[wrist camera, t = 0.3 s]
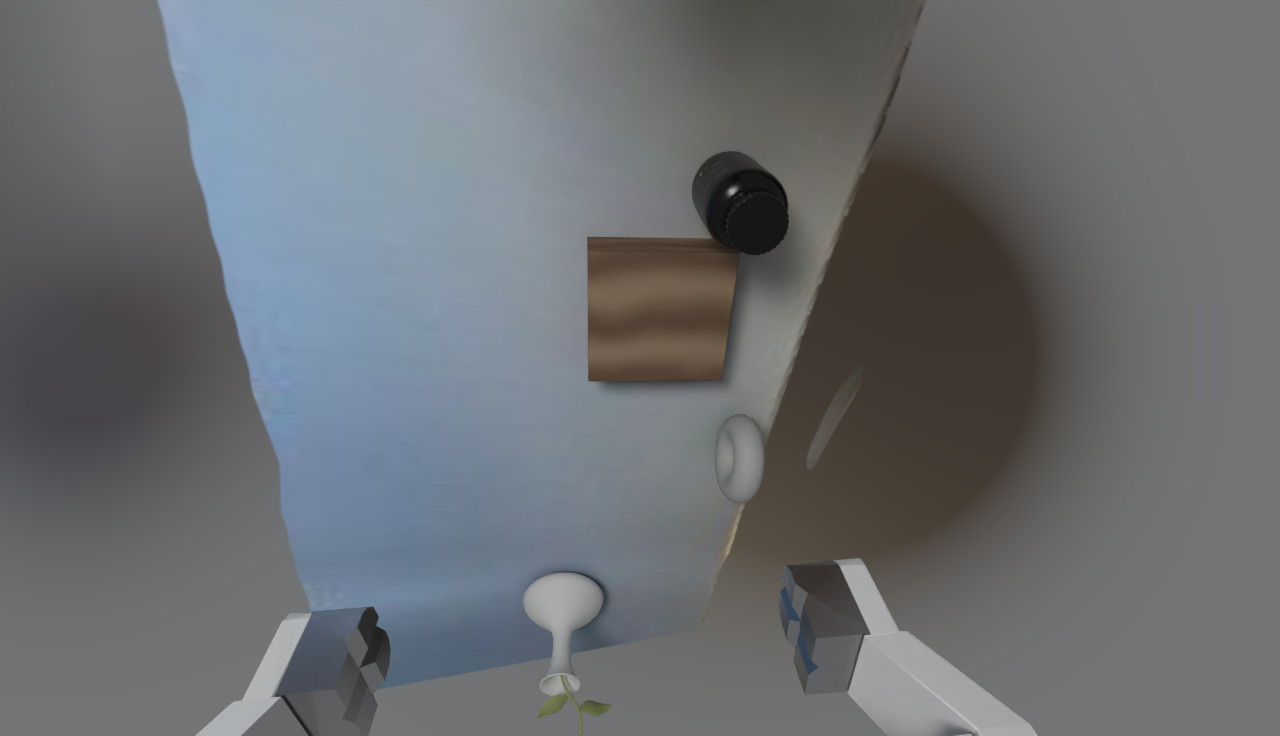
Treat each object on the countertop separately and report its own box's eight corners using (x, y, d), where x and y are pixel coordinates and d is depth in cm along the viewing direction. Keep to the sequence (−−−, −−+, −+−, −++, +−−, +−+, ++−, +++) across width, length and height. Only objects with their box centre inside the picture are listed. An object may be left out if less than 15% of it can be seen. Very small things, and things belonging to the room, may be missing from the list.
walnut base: (587, 237, 55) (587, 251, 51) (729, 239, 56) (739, 253, 52) (588, 361, 62) (588, 381, 58) (714, 360, 63) (721, 380, 60)
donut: (733, 463, 71) (753, 523, 63) (706, 461, 71) (723, 521, 63) (753, 398, 66) (777, 454, 58) (724, 396, 66) (745, 451, 57)
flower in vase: (511, 604, 82) (486, 807, 61) (542, 555, 78) (526, 757, 56) (592, 624, 87) (595, 820, 65) (626, 578, 82) (641, 775, 60)
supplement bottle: (776, 172, 53) (822, 209, 43) (734, 235, 56) (767, 284, 45) (716, 134, 51) (749, 163, 40) (676, 201, 53) (697, 244, 43)
